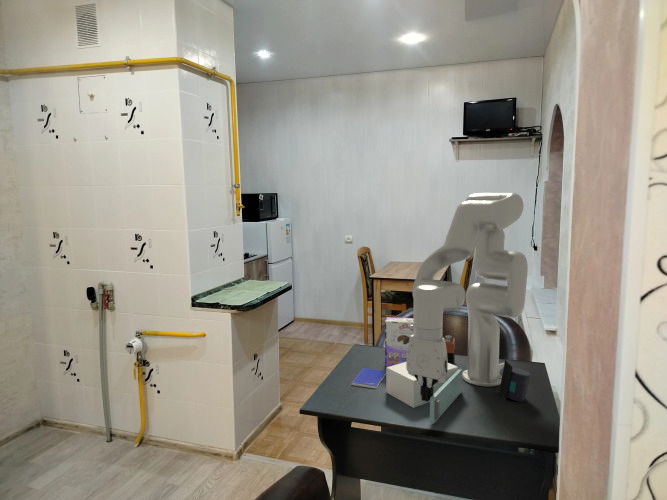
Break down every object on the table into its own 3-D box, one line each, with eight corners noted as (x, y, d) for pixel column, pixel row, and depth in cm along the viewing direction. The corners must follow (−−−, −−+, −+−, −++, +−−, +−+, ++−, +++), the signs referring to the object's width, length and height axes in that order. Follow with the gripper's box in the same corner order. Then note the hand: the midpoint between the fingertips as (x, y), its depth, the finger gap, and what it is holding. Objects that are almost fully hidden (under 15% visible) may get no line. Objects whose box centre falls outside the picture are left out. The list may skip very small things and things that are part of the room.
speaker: (497, 399, 132) (502, 365, 130) (498, 392, 137) (503, 359, 136) (525, 406, 129) (531, 371, 128) (525, 398, 134) (530, 365, 133)
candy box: (424, 362, 161) (425, 318, 159) (424, 369, 156) (424, 322, 154) (386, 360, 165) (386, 316, 163) (384, 366, 159) (384, 320, 157)
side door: (459, 390, 137) (459, 368, 137) (464, 391, 136) (465, 369, 136) (429, 423, 118) (430, 397, 117) (436, 425, 117) (436, 399, 116)
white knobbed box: (431, 377, 148) (432, 352, 147) (460, 390, 138) (460, 364, 137) (386, 392, 138) (386, 365, 137) (413, 407, 128) (413, 378, 127)
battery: (454, 362, 162) (455, 335, 160) (453, 369, 155) (454, 341, 154) (442, 360, 163) (442, 334, 162) (440, 367, 157) (441, 340, 155)
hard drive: (376, 385, 141) (386, 370, 152) (351, 381, 144) (363, 367, 155) (376, 390, 141) (386, 375, 152) (351, 386, 144) (363, 372, 155)
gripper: (395, 331, 119) (395, 397, 122) (449, 341, 111) (448, 412, 113) (408, 324, 125) (407, 387, 128) (460, 333, 117) (459, 401, 119)
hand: (426, 399), depth 120 cm, fingers closed
